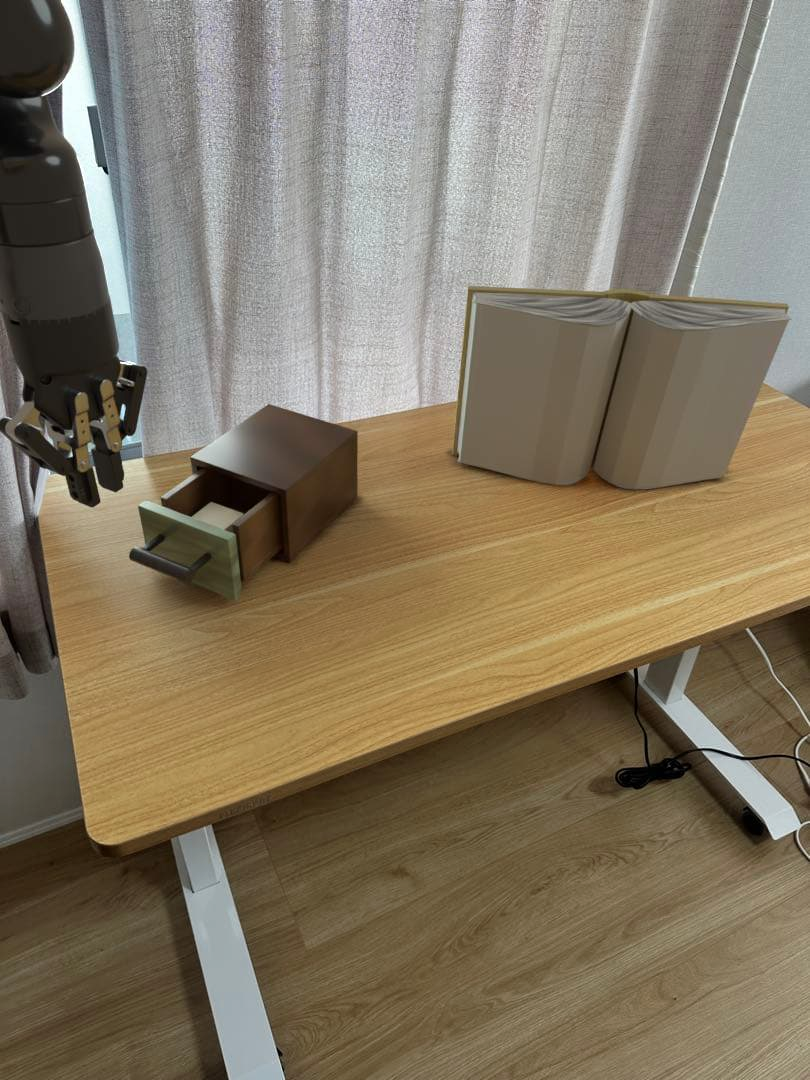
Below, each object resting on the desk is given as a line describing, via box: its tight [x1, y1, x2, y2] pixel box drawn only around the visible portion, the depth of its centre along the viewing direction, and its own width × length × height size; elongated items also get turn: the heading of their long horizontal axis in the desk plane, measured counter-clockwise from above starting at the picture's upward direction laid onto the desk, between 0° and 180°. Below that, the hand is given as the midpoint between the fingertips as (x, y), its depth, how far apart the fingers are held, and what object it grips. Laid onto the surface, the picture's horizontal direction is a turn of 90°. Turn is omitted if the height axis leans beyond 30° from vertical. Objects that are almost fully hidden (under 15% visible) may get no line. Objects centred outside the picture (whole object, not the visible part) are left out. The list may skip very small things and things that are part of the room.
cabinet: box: [189, 403, 359, 563], centre depth 94 cm, size 15×13×10 cm
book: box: [451, 285, 793, 491], centre depth 98 cm, size 36×8×24 cm, turn 87°
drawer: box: [128, 468, 284, 602], centre depth 85 cm, size 18×11×8 cm, turn 152°
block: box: [192, 502, 244, 533], centre depth 86 cm, size 4×4×4 cm
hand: (99, 494), depth 68 cm, fingers closed
